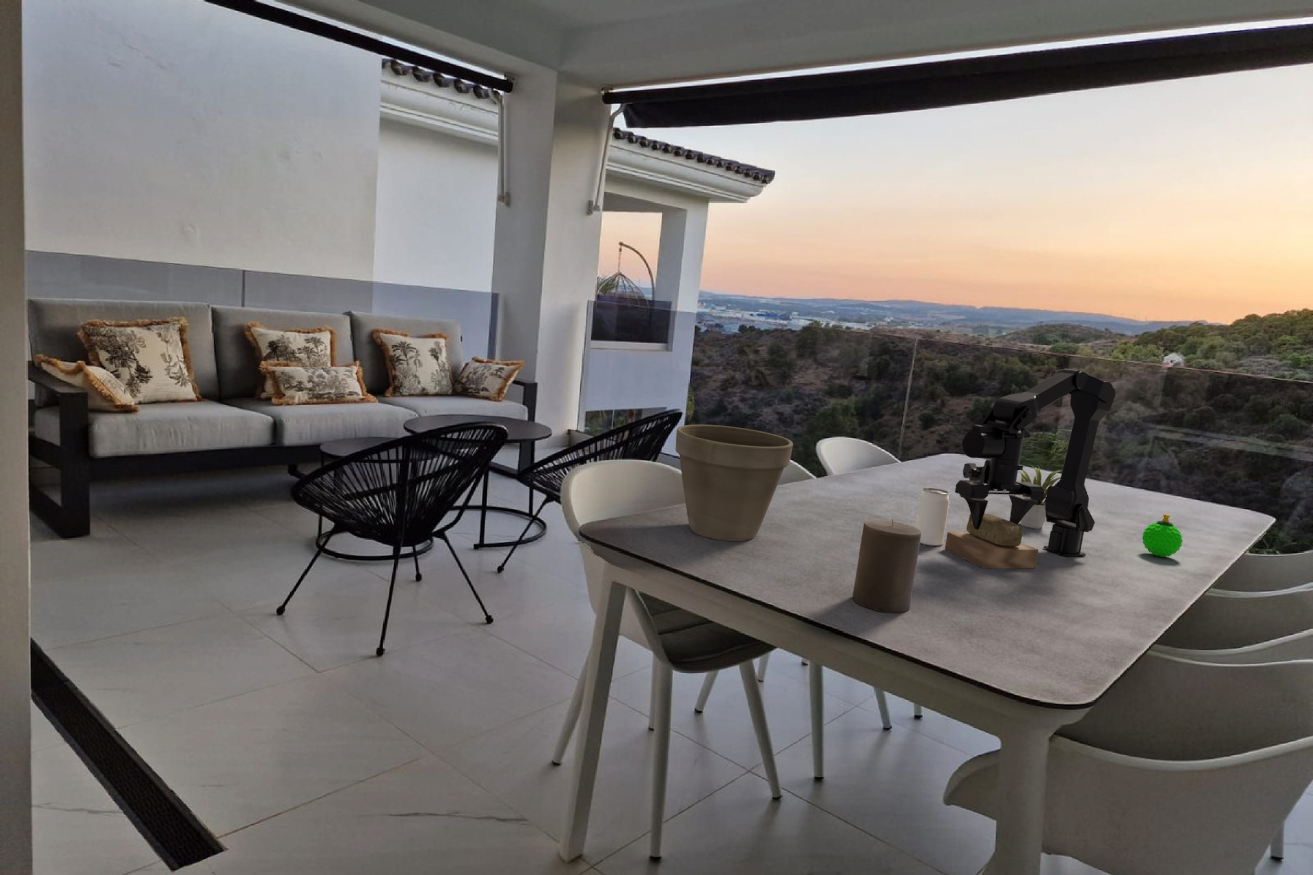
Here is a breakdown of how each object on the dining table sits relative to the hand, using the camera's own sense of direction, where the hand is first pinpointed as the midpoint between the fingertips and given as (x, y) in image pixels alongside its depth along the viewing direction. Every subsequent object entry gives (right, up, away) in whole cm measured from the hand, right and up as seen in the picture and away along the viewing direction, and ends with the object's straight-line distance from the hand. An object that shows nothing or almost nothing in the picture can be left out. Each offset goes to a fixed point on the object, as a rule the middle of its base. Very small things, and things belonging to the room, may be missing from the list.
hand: (993, 529), depth 179 cm
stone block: (0, -3, 0) cm, 3 cm away
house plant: (+26, -4, +37) cm, 45 cm away
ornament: (+46, -8, +17) cm, 49 cm away
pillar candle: (-33, -9, -35) cm, 49 cm away
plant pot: (-58, -1, +2) cm, 58 cm away
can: (-11, -4, +10) cm, 15 cm away
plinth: (-1, -6, +1) cm, 6 cm away
